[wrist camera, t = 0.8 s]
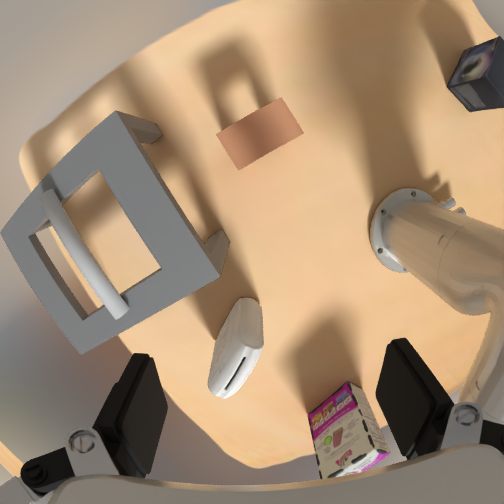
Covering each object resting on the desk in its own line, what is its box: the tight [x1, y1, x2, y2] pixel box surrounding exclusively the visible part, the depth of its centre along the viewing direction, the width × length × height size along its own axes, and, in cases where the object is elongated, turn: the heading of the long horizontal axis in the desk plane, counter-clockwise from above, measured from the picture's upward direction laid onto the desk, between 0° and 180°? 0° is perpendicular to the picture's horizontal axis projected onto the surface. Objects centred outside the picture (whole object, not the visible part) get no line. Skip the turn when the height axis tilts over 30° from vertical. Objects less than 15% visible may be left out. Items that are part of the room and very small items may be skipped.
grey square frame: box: [1, 110, 230, 355], centre depth 32 cm, size 22×19×14 cm
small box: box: [447, 36, 504, 112], centre depth 26 cm, size 11×6×10 cm, turn 148°
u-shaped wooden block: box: [216, 97, 304, 170], centre depth 31 cm, size 7×4×11 cm, turn 121°
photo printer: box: [208, 297, 264, 398], centre depth 38 cm, size 10×4×12 cm, turn 154°
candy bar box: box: [308, 382, 390, 479], centre depth 41 cm, size 11×5×16 cm, turn 144°
